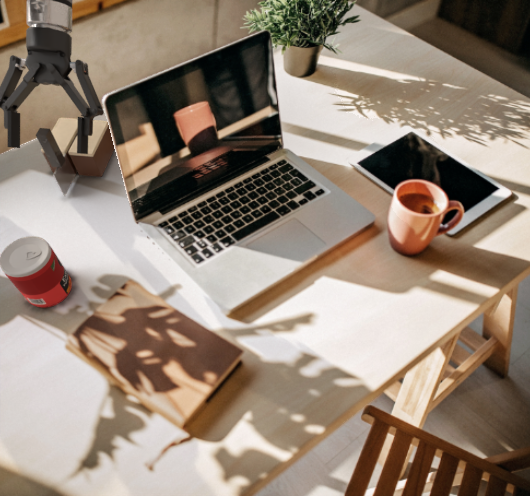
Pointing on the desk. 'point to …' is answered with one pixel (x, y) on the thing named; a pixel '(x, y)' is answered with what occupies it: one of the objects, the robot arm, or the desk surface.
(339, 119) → the desk surface
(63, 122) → the cake
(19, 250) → the canned food
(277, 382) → the desk surface
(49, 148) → the slicer
